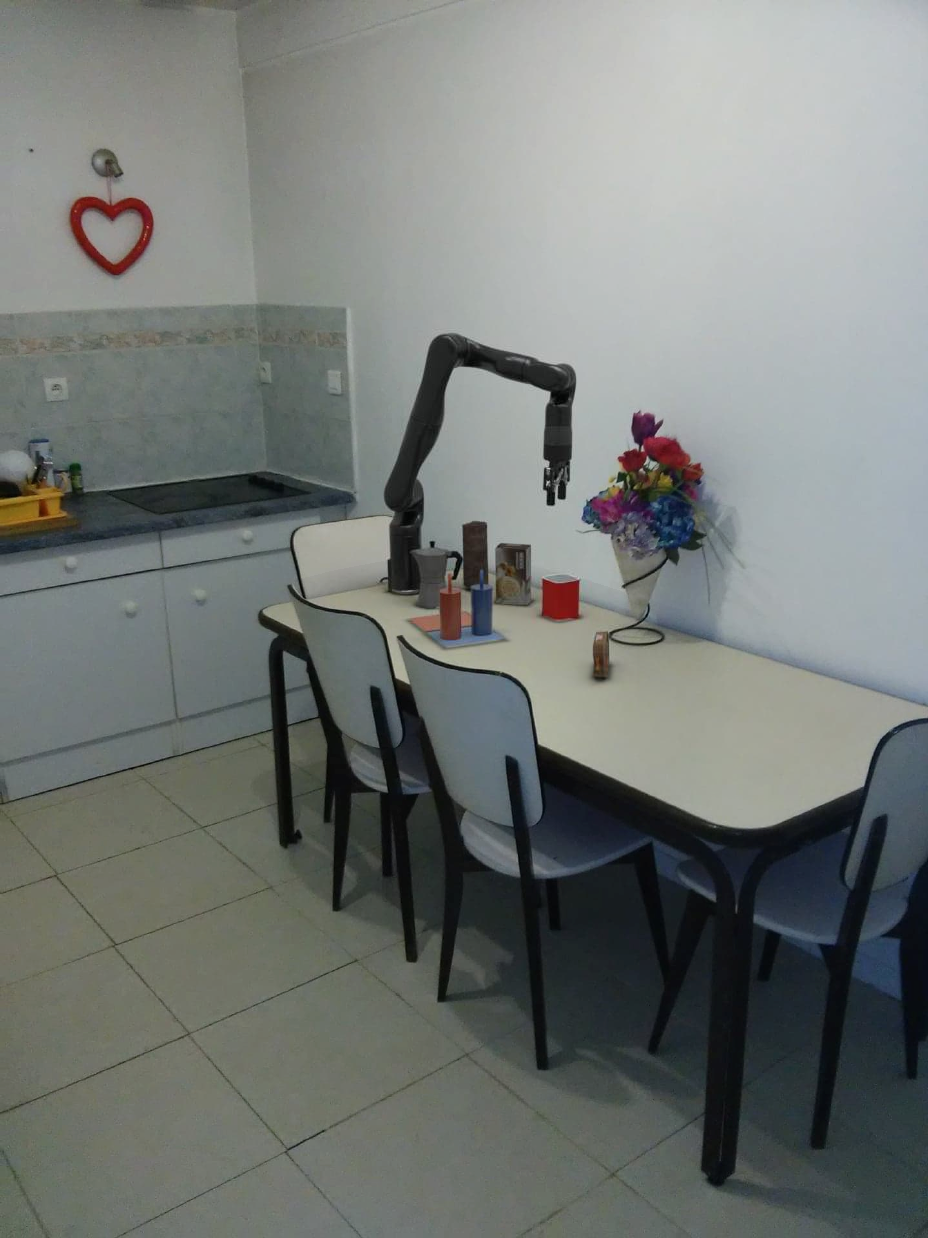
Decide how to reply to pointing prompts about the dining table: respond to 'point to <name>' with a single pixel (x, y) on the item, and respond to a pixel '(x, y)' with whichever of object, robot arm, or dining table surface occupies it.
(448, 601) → the terracotta spoon cup
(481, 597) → the blue spoon cup
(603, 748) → the dining table surface
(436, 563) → the coffeepot
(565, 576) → the mug
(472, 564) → the candle
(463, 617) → the board
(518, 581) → the coffee box
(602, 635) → the tin
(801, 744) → the dining table surface
